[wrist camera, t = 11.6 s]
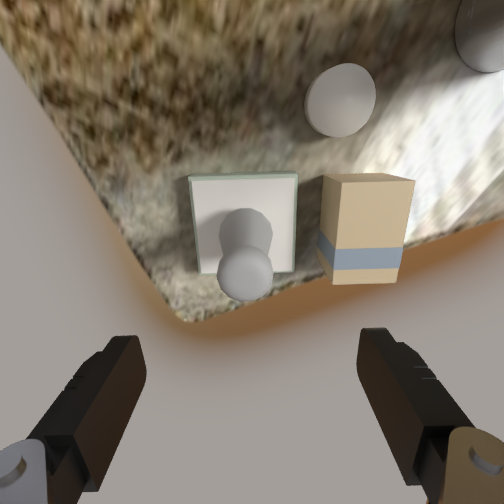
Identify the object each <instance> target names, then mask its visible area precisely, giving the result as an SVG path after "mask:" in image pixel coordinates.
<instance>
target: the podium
mask: <svg viewBox="0 0 504 504" xmlns="http://www.w3.org/2000/svg"><path fill="white" fill-rule="evenodd" d="M188 181H189V190H190V199H191V208H192V217H193V226H194V235H195V244H196V253H197V262H198V271H199V275H213V274H217V270H218V265H219V261H220V259H221V258H222V257H223V252H222V248H221V244H220V240H219V231H220V225H221V223H222V222H223V220H224V219H225V218H226V216H227V215H228V214H229V213H231V212H233V211H235V210H237V209H239V208H252V209H254V210H256V211H259V212H261V213H262V214H263V215H264V216H265V217H266V218H267V219H268V221H269V222H270V223H271V227H272V232H273V236H272V241H271V245H270V249H269V253H268V257H269V258H270V260H271V264H272V268H273V272H274V273H280V272H294V267H295V240H296V212H297V185H298V173H296V172H295V171H278V172H243V173H208V174H192V175H190V176H188Z"/></svg>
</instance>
